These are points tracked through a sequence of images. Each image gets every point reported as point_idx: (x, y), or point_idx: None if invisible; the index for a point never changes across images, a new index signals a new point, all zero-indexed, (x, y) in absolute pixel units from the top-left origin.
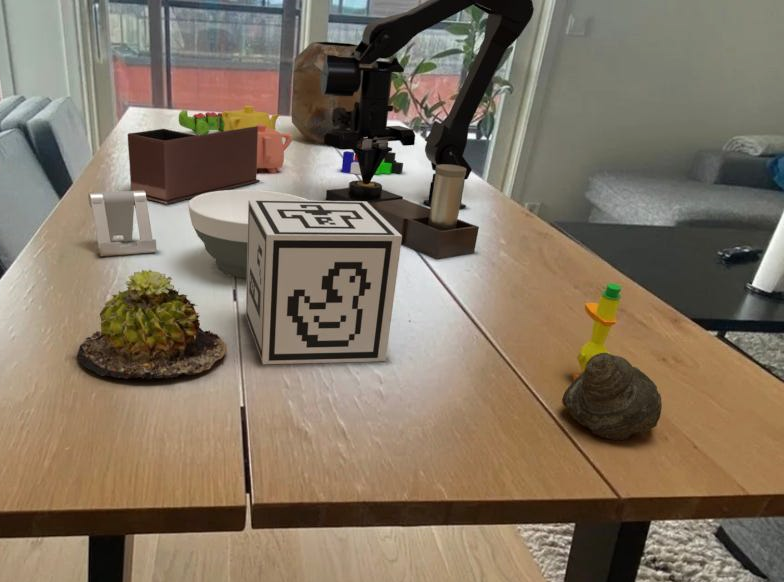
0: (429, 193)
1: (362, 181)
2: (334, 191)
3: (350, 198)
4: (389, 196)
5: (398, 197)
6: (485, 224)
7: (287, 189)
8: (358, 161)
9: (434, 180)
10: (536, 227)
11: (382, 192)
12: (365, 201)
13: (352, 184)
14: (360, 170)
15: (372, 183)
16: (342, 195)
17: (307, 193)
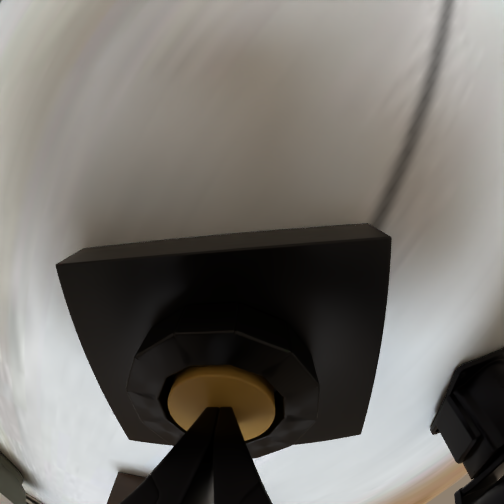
0: (457, 417)
1: (225, 380)
2: (81, 303)
3: (119, 410)
4: (310, 430)
5: (337, 437)
6: (402, 486)
7: (44, 34)
8: (131, 497)
9: (480, 445)
10: (449, 481)
11: (332, 381)
12: (168, 443)
13: (135, 397)
14: (169, 454)
15: (262, 421)
16: (99, 370)
17: (71, 94)
